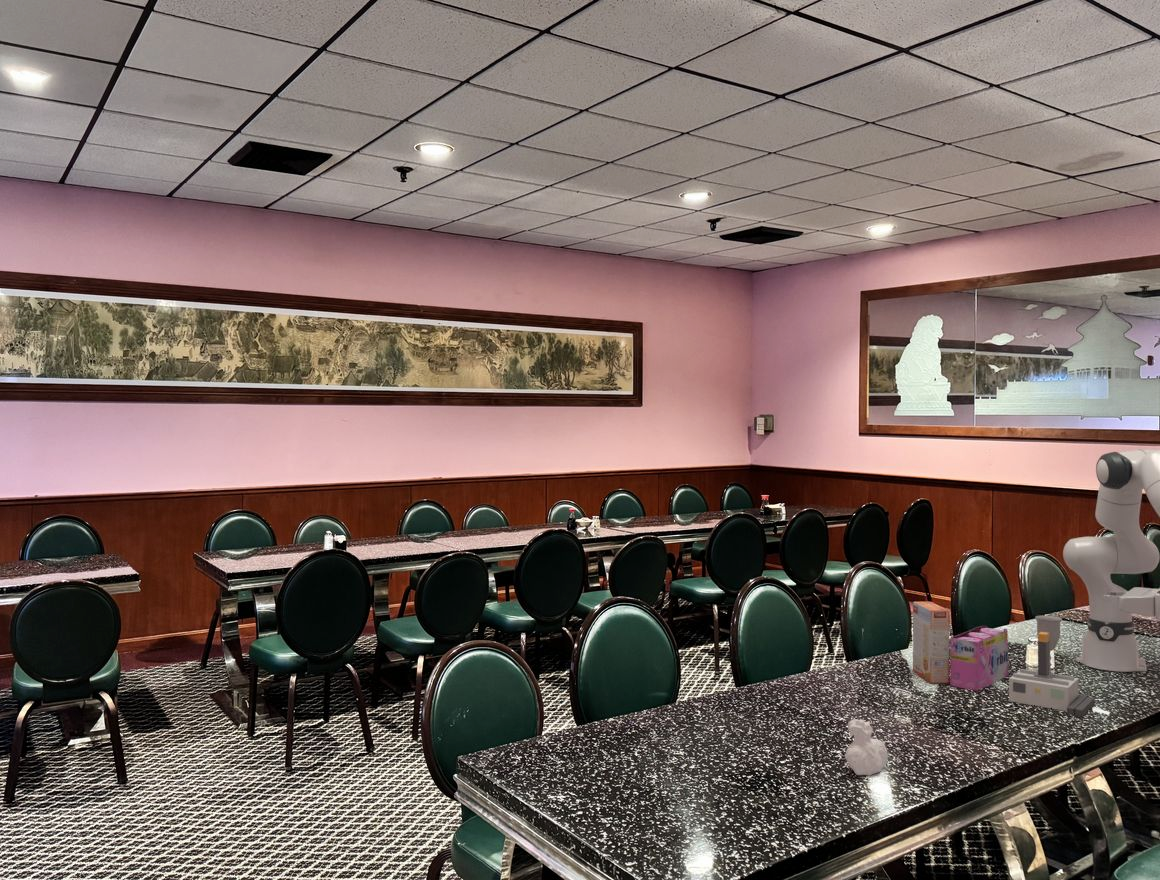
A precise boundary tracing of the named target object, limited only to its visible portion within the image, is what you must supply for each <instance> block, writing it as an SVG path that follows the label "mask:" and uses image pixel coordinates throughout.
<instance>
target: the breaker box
mask: <svg viewBox="0 0 1160 880" xmlns="http://www.w3.org/2000/svg"><path fill="white" fill-rule="evenodd" d="M1037 672H1038V670H1032V669H1024V668H1020V669H1019V670H1018V671H1017V672H1016V673H1012V676H1010V677H1009V678H1008V702H1010V703H1011V702H1012V703H1018V704H1024V705H1028V704H1029V705H1030V706H1034V705H1035V706H1034V707H1040V706H1041V707H1040V708H1046V709H1051V708H1052V710H1056V711H1057V710H1058V711H1064V712H1067V707H1068V706H1069V705H1070V704H1071V703H1072V702H1074V701H1075V700H1076V699H1077V698H1078V697H1079V678H1077V677H1076V678H1075V676H1071V675H1070V676H1069V675H1064V674H1056V673H1054V674H1053V678H1052V679H1048V678H1041V677H1035V676H1034V674H1036V673H1037Z"/></svg>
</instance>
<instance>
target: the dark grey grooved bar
mask: <svg viewBox="0 0 1160 880" xmlns="http://www.w3.org/2000/svg"><path fill="white" fill-rule="evenodd" d="M1095 700H1096V699H1095V697H1092V696H1089V694H1086V693H1081V694H1080V695H1078V698H1077V699H1076V700H1075V701H1074V702H1072V703H1071V704H1070V705H1069V706H1068V707H1067V711H1066V714H1067V715H1071V716H1076V717H1080V718H1081V717H1084V715H1085V714H1086V713H1087V712H1088V711H1089V710H1090V709H1092V707H1093V706H1094V705H1095V704H1096V703H1095Z"/></svg>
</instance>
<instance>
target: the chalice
mask: <svg viewBox="0 0 1160 880" xmlns="http://www.w3.org/2000/svg"><path fill="white" fill-rule="evenodd" d="M1035 620H1036V635H1037V636H1038V633H1040V632H1047V633H1049V673H1051V674H1055V673H1054V672H1052V670H1051V666H1053V664H1052V662H1051V659H1052V656H1051V653H1052V651H1055V649H1056V647H1057V645H1058V643H1059V641H1060V637H1061V622H1062V621H1063V618H1062V617H1060V616H1055V615H1036V616H1035Z"/></svg>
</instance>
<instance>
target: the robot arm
mask: <svg viewBox="0 0 1160 880" xmlns="http://www.w3.org/2000/svg"><path fill="white" fill-rule="evenodd" d="M1095 472H1096V477H1097V481H1098V482H1099V487H1098V492H1097V500H1096V504H1095V505H1096V506H1095V514H1094V515H1095V519H1096V522H1097V523H1098V524H1100V526H1102V527H1104V528H1105V529H1106V530H1108V531H1111V532H1113V533H1112V536H1081V537H1076V538H1075V537H1074V538H1071V539H1069V540H1068V541H1067V542H1066V543H1065V545H1064V547H1063V551H1062V556H1063V561H1064V563H1065V564H1066V566H1067V567H1068V568H1069V569H1070V570H1071V571H1073V572H1074V573H1075V574H1076V575H1077V576H1079V578H1081V580H1082V581H1083V583H1084V585H1085V587H1086V589H1087V594H1088V595H1087V596H1088V604H1089V617H1087V629H1088V630H1087V632H1086V633H1084V634H1083V635H1082V636H1081V637H1082V640H1081V656H1078V657H1075V662H1076V661H1077V663H1079V662H1080V664H1083V665H1084V666H1087V667H1090V668H1093V669H1098V670H1103V671H1110V672H1121V673H1123V672H1126V673H1127V672H1128V673H1129V672H1147V671H1148V668H1147V664H1146V663H1147V662H1146V659H1145V657H1142V654H1141V652H1139V641H1138V640H1137V639H1136V637H1135V635H1134V633H1135V625H1134V620H1133V614H1134V615H1137V616H1139V615H1140V616H1144V617H1150V618H1151V617H1154V619H1155V620H1157V621H1160V588H1150V587H1139V586H1138V587H1135V586H1134V587H1133V588H1131V589H1130V590H1127V589H1125V588H1124V587H1121V586H1120V585H1117V584H1115V583H1113V582H1112V579H1111V574H1113V575H1114V574H1120V575H1121V574H1124V575H1127V574H1128V575H1139V574H1145V573H1152V572H1153V571H1154V570H1155V569H1156V568H1157V567H1158V564H1159V563H1160V552H1159V549H1158V547H1157V546H1156V544H1155V543H1154V542H1153V541H1152V540H1150V539H1149V538H1148V537H1147V536H1146V535H1145V534H1144V533H1143V532H1142V530H1141V526H1140V512H1141V504H1142V497H1143V491H1144V492H1145V494H1146V497H1147V499H1148V501H1149V503H1150V505H1151V506H1152V508H1153V510H1154V511H1155V513H1156V514H1157V516H1159V517H1158V518H1160V449H1155V448H1153V449H1151V448H1149V449H1148V448H1145V449H1144V448H1140V449H1133V450H1132V449H1131V450H1124V451H1112V452H1111V451H1110V452H1108V453H1104V454H1101V456H1100V457H1099V458H1098V460H1097V462H1096V466H1095Z"/></svg>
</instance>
